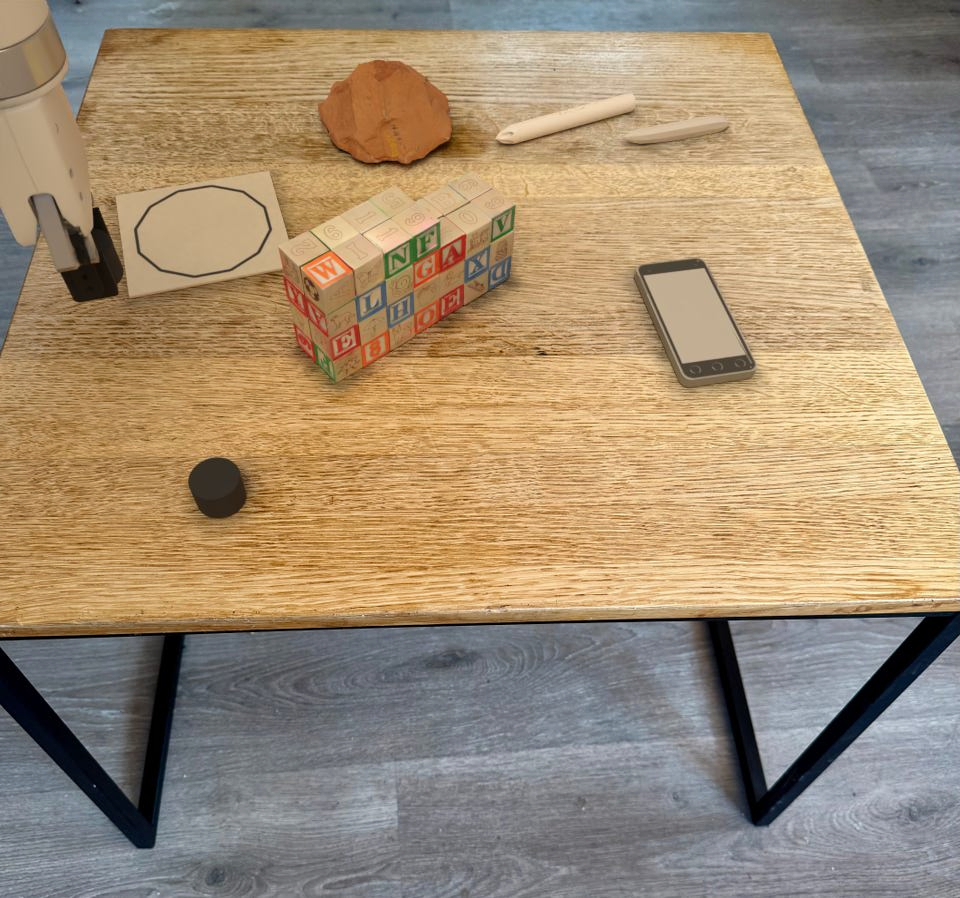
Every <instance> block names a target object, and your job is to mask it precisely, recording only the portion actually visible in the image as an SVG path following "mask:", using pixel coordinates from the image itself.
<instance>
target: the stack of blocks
mask: <svg viewBox="0 0 960 898" xmlns="http://www.w3.org/2000/svg"><path fill="white" fill-rule="evenodd" d="M515 217H516V203H515V202H513V201H512V200H510V199H509V198H508V197H507V196H505V195H504V194H503V193H502V192H500V191H499V190H498V189H497V188H495V187H493V186H492V185H490V184H489V183H488V182H487V181H485V180H484V179H483V178H481V177H480V176H479V175H478V174H476V173H475V172H474V171H470V172H467V173H466V174H464V175H463V176H461V177H459V178H457V179H455V180H454V181H452V182H450V183H449V184H445V185H443V186H441V187H439V188H438V189H436V190H434V191H432V192H430V193H429V194H426V195H425V196H423V197H422V198H419V199H417V200H414V199H413V198H411V197H410V196H409V195H408V194H407V193H406V192H404V191H403V190H402V189H400V187H398V186H397V185H392V186H391V187H389V188H387V189H385V190H383V191H380V192H379V193H377V194H375V195H374V196H372V197H370V198H368V199H367V200H365V201H363V202H360V203H359V204H358V205H355V206H353V207H351V208H350V209H348V210H346V211H344V212H342V214H340V215H336V216H334V217H332V218H331V219H329V220H327V221H325V222H323V223H321V224H319V225H317V226H316V227H314V228H311V229H310V231H309V230H307V231H305V232H302V233H301V234H299V235H297V236H295V237H293V238H291V239H289V241H287V242H285V243H283V244H281V245H280V246H279V247H278V248H279V253H280V258H281V263H282V267H283V270H282V271H283V273H282V278H283V284H284V289H285V293H286V297H287V300H288V305H289V308H290V309H289V310H290V313H291V318H292V321H293V324H292V325H293V329H294V332H295V339H296V340H295V341H296V343H297V345H298V346H299V347H300V349H302V350H303V352H305V353H306V355H307V356H308V357H309V358H310V359H311V360H312V361H313V362H315V363H316V364H317V365H318V366H319V367H320V368H321V369H322V371H324V372H325V373H326V374H327V376H328V377H329V378H330V379H331V380H332V381H333V382H334V383H339V382H341V381H343V380H344V379H346V378H347V377H350V376H351V375H352V374H354V373H356V372H358V371H360V370H361V369H362V368H365V367H367V366H369V365H370V364H372V363H374V362H375V361H377V360H379V359H380V358H382V357H383V356H385V355H386V354H388V353H389V352H391V351H393V350H395V349H397V348H399V347H400V346H402V345H403V344H405V343H407V342H408V341H410V340H412V339H413V338H415V337H416V335H417V334H420V333H421V332H423V331H424V330H426V329H428V328H429V327H431V326H432V325H434V324H435V323H438V322H439V320H441V319H443V318H444V317H446V316H449V315H450V314H451V313H453V312H454V311H457V310H458V309H459V308H461V307H462V306H466V305H468V304H470V303H471V302H473V301H474V300H477V298H479V297H481V296H482V295H484V294H485V293H487V292H488V291H491V290H492V289H494V288H495V287H497V286H498V285H500V284H502V283H504V282H505V281H507V280H508V279H509V278H510V277H511V270H512V269H511V268H512V260H513V255H512V254H513V251H514V243H515V230H514V229H515Z"/></svg>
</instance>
